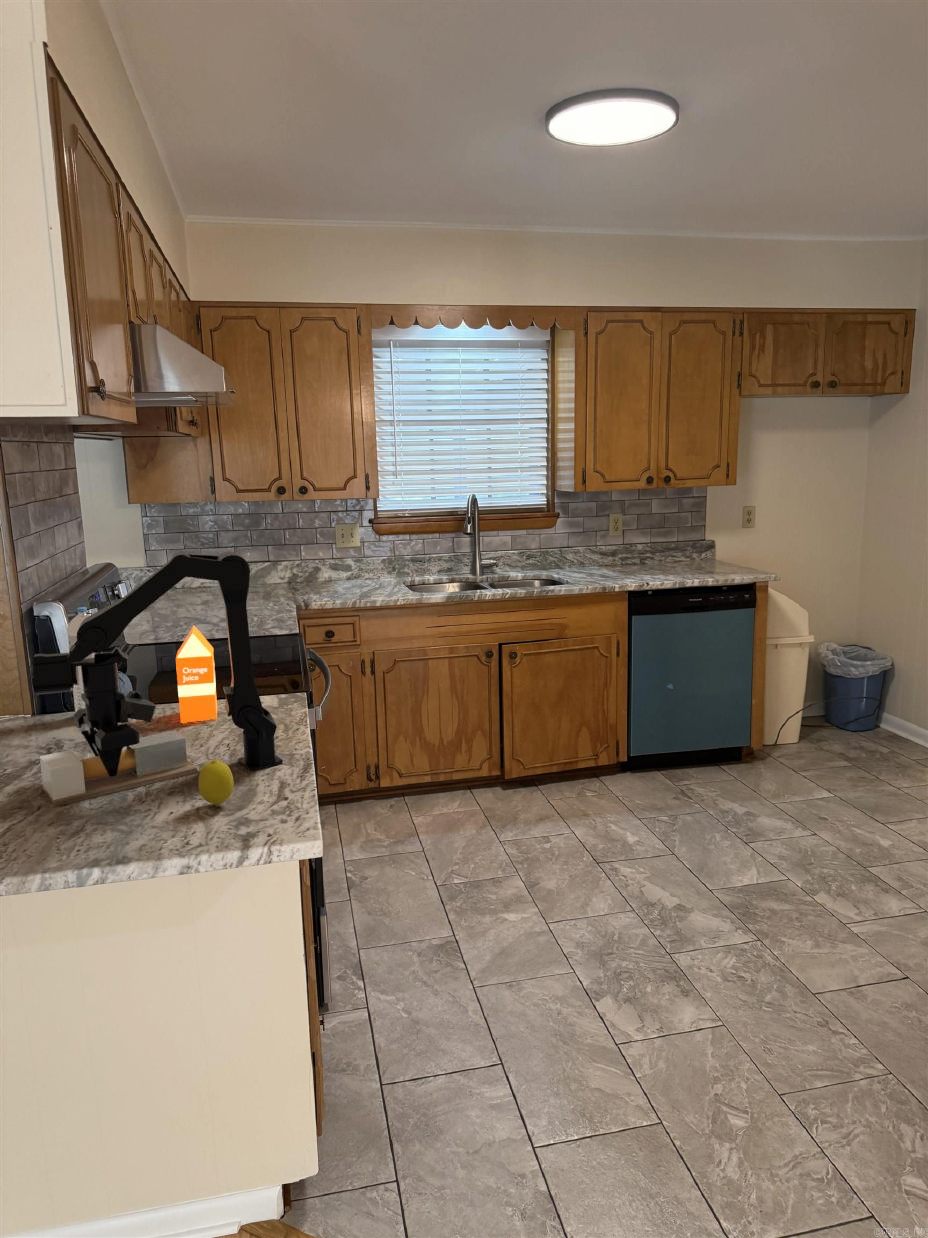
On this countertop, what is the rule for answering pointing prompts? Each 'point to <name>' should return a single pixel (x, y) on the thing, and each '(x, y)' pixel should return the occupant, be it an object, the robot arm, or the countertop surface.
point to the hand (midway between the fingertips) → (109, 773)
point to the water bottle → (72, 639)
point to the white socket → (62, 774)
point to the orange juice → (196, 679)
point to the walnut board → (120, 783)
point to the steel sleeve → (159, 753)
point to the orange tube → (96, 768)
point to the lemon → (215, 782)
